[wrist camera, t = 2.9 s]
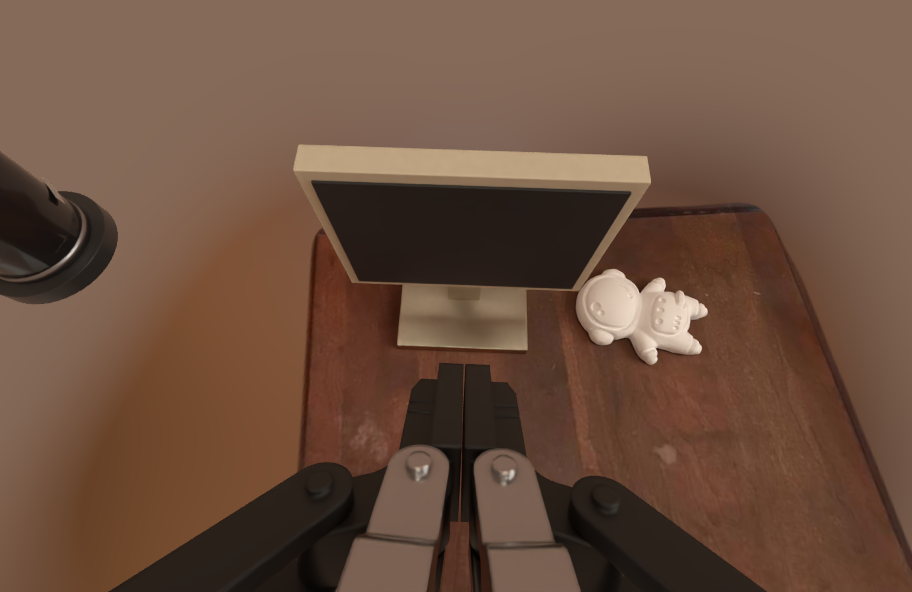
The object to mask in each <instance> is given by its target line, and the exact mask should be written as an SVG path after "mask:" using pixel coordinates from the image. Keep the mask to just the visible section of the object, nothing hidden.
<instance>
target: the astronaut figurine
mask: <svg viewBox="0 0 912 592" xmlns="http://www.w3.org/2000/svg"><path fill="white" fill-rule="evenodd" d="M665 286H666V284H665V280H664V279H662V278H657V279H654V280H652V282H650V283H648V284H647V286H646V287H645V288H644V289H643V290H642V292H641V293H639V291H638V289H637V287H636V286H635V285H634V284H633V283H632V282H631V281H630V280H628V279H626V278H625V275H624V274H623V273H622V272H620V271H618V270H616V269H609V270H606V271H604V272H603V273H602V275H598V276H595V277H593V278H591V279H590V280H589V281H587V282H586V283H585V284H584V286H583V287H582V288H581V290H580V291H579V293H578V296H577V300H576V314H577V317H578V320H579V322H580V323H581V325H582V327H583V328H584V329H585V330H586V331H587V332H588V334H589V337H590V339H591V340H592V341H593V342H594V343H596V344H598V345H608V344H610V343H611V342H612V341H613V340H618V339H622V338H629V339H630V340H631V342H632V345H633V347H634V349H635V351H636V353H637V355H638V356H639V357H640V358H641V359H642V360H643V361H645V362H646V363H647V364H649V365H652V364H654V363H656V361H657V357H656V356H657V350H656V348H659V349H663V350H667V351H670V352H672V353H679V354H686V355H691V354H699V353H700V352H701V350H702V346H701V345H699V342H698V341H697V340H696V339H693V336H691V335H690V334H689V333H688V332H687V330H688V328H689V325H690V320H696V319H699V318H702V317H704V316H706V314H707V309H706V308H705V306H704V305H703V304H701V303H700V304H699V303H698V301H697V300H696V299H693V298H691V297H688V296H685V295H684V293H683V292H682V291H677V292H676V293H672V292H664V289H665Z"/></svg>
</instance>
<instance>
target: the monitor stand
mask: <svg viewBox="0 0 912 592" xmlns="http://www.w3.org/2000/svg"><path fill="white" fill-rule="evenodd" d="M397 346H398V349H416V350H441V351H467V352H492V353H517V354H526V352H527V350H528V346H527V304H526V289H505V288H479V287H452V286H425V285H403V286H402V296H401V307H400V317H399V328H398V338H397Z"/></svg>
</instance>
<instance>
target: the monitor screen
mask: <svg viewBox="0 0 912 592" xmlns="http://www.w3.org/2000/svg"><path fill="white" fill-rule="evenodd" d="M293 172H294V174H295V176H296V177H297V179H298V181H299V183H300V185H301V187H302V189H303V191H304V193H305V195H306V197H307V198H308V200H309V202H310V204H311V206H312V208H313V210H314V212H315V214H316V216H317V217H318V219H319V221H320V223H321V225H322V227H323V229H324V231H325V233H326V234H327V236H328V238H329V240H330V242H331V244H332V246H333V248H334V250H335V252H336V253H337V255H338V257H339V259H340V261H341V263H342V265H343V267H344V269H345V270H346V272H347V274H348V276H349V278H350V280H351V282H352V283H372V284H399V285H425V286H452V287H479V288H505V289H532V290H558V291H579V290H580V289H581V287H582V286H583V284H584V283H585V281H586V280H587V278H588V277H589V275H590V274H591V272H592V271H593V269H594V268H595V266H596V265H597V263H598V262H599V260H600V259H601V257H602V256H603V254H604V253H605V251H606V250H607V248H608V247H609V245H610V244H611V242H612V241H613V239H614V238H615V236H616V235H617V233H618V232H619V230H620V229H621V227H622V226H623V224H624V223H625V221H626V220H627V218H628V217H629V215H630V214H631V212H632V211H633V209H634V208H635V206H636V205H637V203H638V202H639V200H640V199H641V197H642V196H643V194H644V193H645V191H646V190H647V188H648V187H649V185H650V184H651V179H650V173H649V167H648V161H647V157H646V156H624V155H623V156H622V155H593V154H564V153H535V152H534V153H533V152H505V151H504V152H503V151H475V150H445V149H415V148H412V149H411V148H385V147H356V146H326V145H298V149H297V154H296V158H295V163H294V167H293Z"/></svg>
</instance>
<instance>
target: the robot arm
mask: <svg viewBox="0 0 912 592" xmlns="http://www.w3.org/2000/svg"><path fill="white" fill-rule="evenodd" d="M42 178H43V179H44V181H45V182H46V184H45V183H44V182H43V181H41V180H40V179H38V178H37V177H35V176H34V175H32V174H31V173H30V172H29V171H27V170H25V169H24V168H23V167H22V166H20V165H19V164H17V163H16V162H15V161H13V160H12V159H10V158H9V157H7V156H6V155H5V154H3V153H2V152H1V151H0V279H2V280H4V281H7V282H10V283H14V284H33V283H38V282H41V281H44V280H47V279H50V278H52V277H54V276H56V275H58V274H59V273H61V272H63V271H64V270H66V269H67V268H68V267H69V266H71V265H72V264H73V263H74V262H75V261H76V260H77V259H78V258H79V256H80V255H81V254H82V252H83V251H84V249H85V248H86V246H87V243H88V241H89V238H90V233H91V224H90V220H89V217H88V215H87V214H86V213H85V211H84V210H83V209H82V208H80V207H79V206H77V205H76V204H75V203H73V202H72V201H70V200H68V199H66V198H65V197H63V196H62V195H60V194H59V193H58V192H57V191H56V189H55V188H54V186H53V185H52V184H51V182H49V181H48V180H47V179H45V178H44V177H42ZM462 409H463V430H462ZM461 451H462V481H461V522H469V548H468V557H469V570H470V583H471V592H767V591H765V590H764V589H763V588H761V587H760V586H759V585H757V584H756V583H754V582H753V581H752V580H750V579H749V578H748V577H746V576H745V575H744V574H742V573H741V572H740V571H738V570H737V569H736V568H734V567H733V566H731V565H730V564H729V563H727V562H726V561H725V560H723V559H722V558H721V557H719V556H718V555H717V554H715V553H714V552H712V551H711V550H710V549H708V548H707V547H706V546H704V545H703V544H702V543H700V542H699V541H698V540H696V539H695V538H694V537H692V536H691V535H689V534H688V533H687V532H685V531H684V530H683V529H681V528H680V527H679V526H677V525H676V524H675V523H673V522H672V521H671V520H669V519H668V518H666V517H665V516H664V515H662V514H661V513H660V512H658V511H657V510H656V509H654V508H653V507H652V506H650V505H649V504H647V503H646V502H645V501H643V500H642V499H641V498H639V497H638V496H637V495H635V494H634V493H633V492H631V491H630V490H629V489H627V488H626V487H624V486H623V485H621V484H620V483H618V482H616V481H614V480H612V479H609V478H606V477H601V476H588V477H584V478H581V479H580V480H578V481H577V482H576V483H575V484H574V485H573V488H572V487H569V486H566V485H563V484H559V483H556V482H553V481H551V480H549V479H547V478H545V477H543V476H541V475H540V474H539V473H538V472H536V471H535V470H534V467H533V465H532V464H531V462H530V461H529V460H528V459H527V456H526V451H525V445H524V439H523V433H522V427H521V422H520V418H519V410H518V404H517V398H516V393H515V392H514V391H513V389H512V388H511V387H510V386H509V385H508V383H504V382H491V375H490V365H476V364H466V365H465V383H464V403H463V364H451V363H439V371H438V380H434V379H420V381H419V382H418V383H417V384H416V385H415V386H414V387H413V388H412V390H411V395H410V400H409V405H408V409H407V414H406V419H405V424H404V429H403V434H402V438H401V443H400V448H399V451H398V452H396V453H395V454H394V455H393V456H392V458H391V459H390V461H389V464H388V466H386V467H385V468H383V469H381V470H379V471H376V472H374V473H370V474H366V475H361V476H356V477H352V475H351V473H350V472H349V470H348V469H347V468H345V467H344V466H342V465H339V464H336V463H329V462H326V463H317V464H314V465H311V466H308V467H306V468H304V469H302V470H301V471H299V472H297V473H296V474H295V475H293V476H291V477H290V478H288V479H286V480H285V481H283V482H282V483H280V484H278V485H277V486H275V487H274V488H272V489H271V490H269V491H267V492H266V493H264V494H263V495H261V496H259V497H258V498H256V499H255V500H253V501H252V502H250V503H248V504H247V505H245V506H244V507H242V508H240V509H239V510H238V511H236V512H234V513H233V514H231V515H230V516H228V517H226V518H225V519H223V520H221V521H220V522H218V523H217V524H215V525H214V526H212V527H210V528H209V529H207V530H206V531H204V532H202V533H201V534H199V535H198V536H196V537H195V538H193V539H191V540H190V541H188V542H187V543H185V544H184V545H182V546H180V547H179V548H177V549H176V550H174V551H172V552H171V553H169V554H168V555H166V556H164V557H163V558H161V559H160V560H158V561H157V562H155V563H153V564H152V565H150V566H149V567H147V568H145V569H144V570H142V571H141V572H139V573H138V574H136V575H134V576H133V577H131V578H130V579H128V580H126V581H125V582H123V583H122V584H120V585H119V586H117V587H115V588H114V589H112V590H111V591H109V592H441V587H442V580H443V572H444V565H445V557H446V546H447V544H448V541H449V536H450V521H454V522H458V511H459V491H460V471H461Z"/></svg>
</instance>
